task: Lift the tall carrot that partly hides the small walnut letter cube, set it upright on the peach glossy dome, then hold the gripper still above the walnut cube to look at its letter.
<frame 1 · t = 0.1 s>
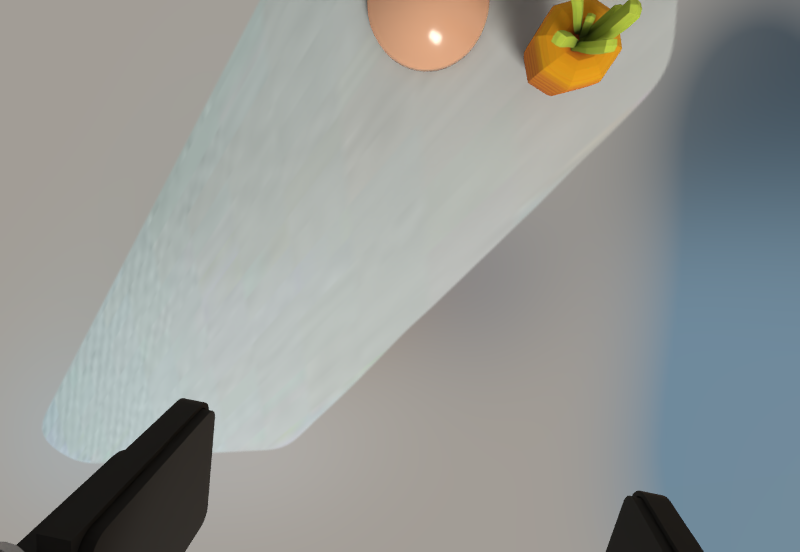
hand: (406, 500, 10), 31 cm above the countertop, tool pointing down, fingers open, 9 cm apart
peach glossy dome: (428, 8, 36), on the countertop
carrot: (539, 74, 37), on the countertop
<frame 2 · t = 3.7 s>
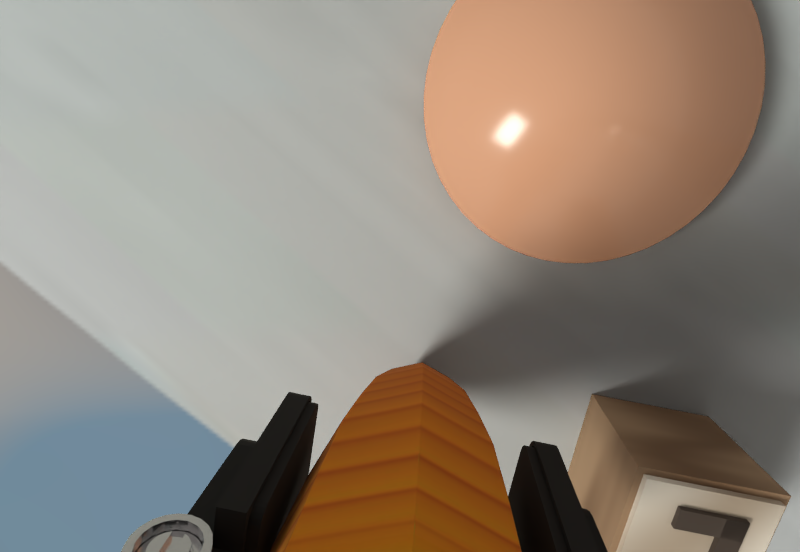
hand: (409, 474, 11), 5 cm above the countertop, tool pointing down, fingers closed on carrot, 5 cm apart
peach glossy dome: (576, 106, 14), on the countertop
carrot: (419, 371, 17), on the countertop, touching gripper
letter cube: (632, 453, 17), on the countertop
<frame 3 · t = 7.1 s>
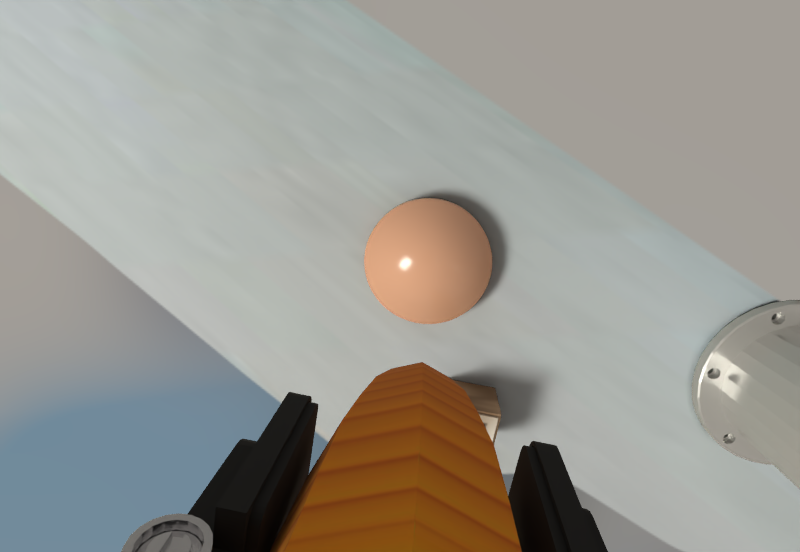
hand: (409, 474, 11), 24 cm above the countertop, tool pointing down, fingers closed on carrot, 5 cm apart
peach glossy dome: (428, 260, 34), on the countertop
carrot: (419, 371, 17), point 18 cm above the countertop, touching gripper
letter cube: (464, 405, 37), on the countertop
when the fingers open (8 cm above the countertop, at t = 10.8 s): carrot drops 1 cm, resting on peach glossy dome.
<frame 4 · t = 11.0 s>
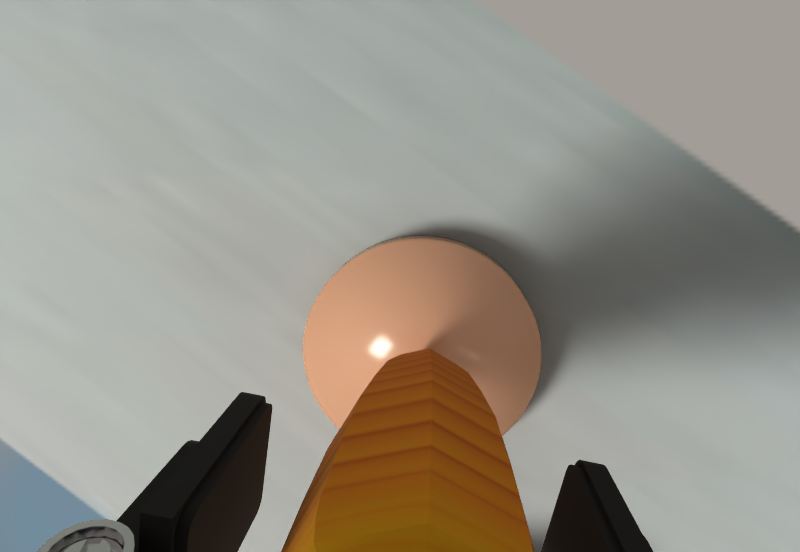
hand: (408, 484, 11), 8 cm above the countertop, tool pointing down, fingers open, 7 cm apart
peach glossy dome: (421, 346, 19), on the countertop
carrot: (425, 358, 18), point 1 cm above the countertop, touching peach glossy dome
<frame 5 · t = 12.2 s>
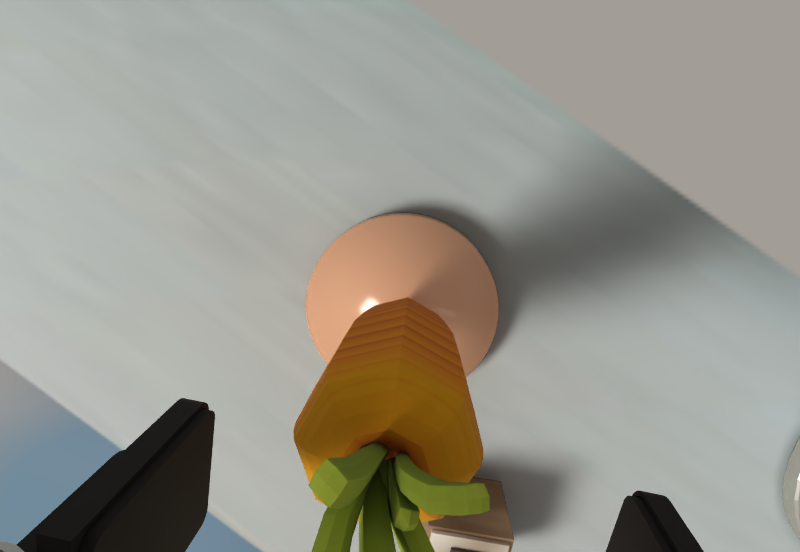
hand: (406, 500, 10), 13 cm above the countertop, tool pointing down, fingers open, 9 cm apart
peach glossy dome: (402, 304, 23), on the countertop
carrot: (405, 312, 22), point 1 cm above the countertop, touching peach glossy dome
letter cube: (457, 505, 26), on the countertop
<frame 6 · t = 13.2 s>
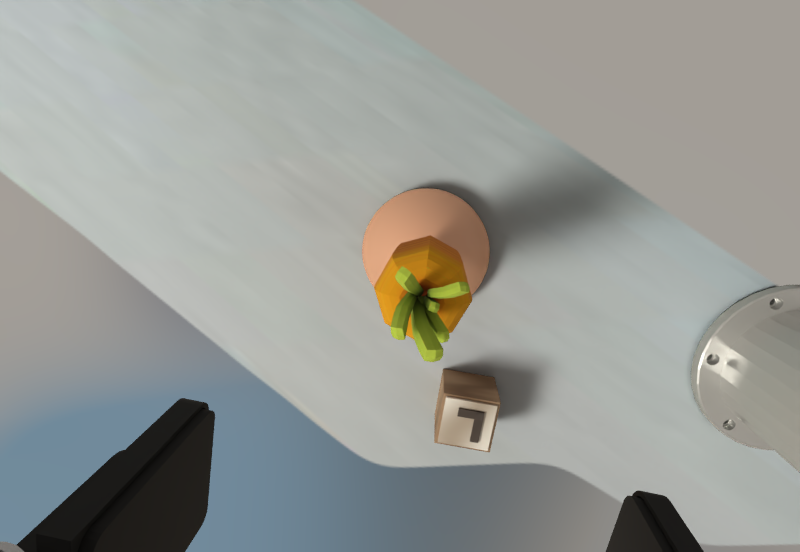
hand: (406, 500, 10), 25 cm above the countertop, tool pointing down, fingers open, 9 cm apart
peach glossy dome: (425, 250, 35), on the countertop
carrot: (428, 253, 34), point 1 cm above the countertop, touching peach glossy dome
letter cube: (464, 395, 37), on the countertop
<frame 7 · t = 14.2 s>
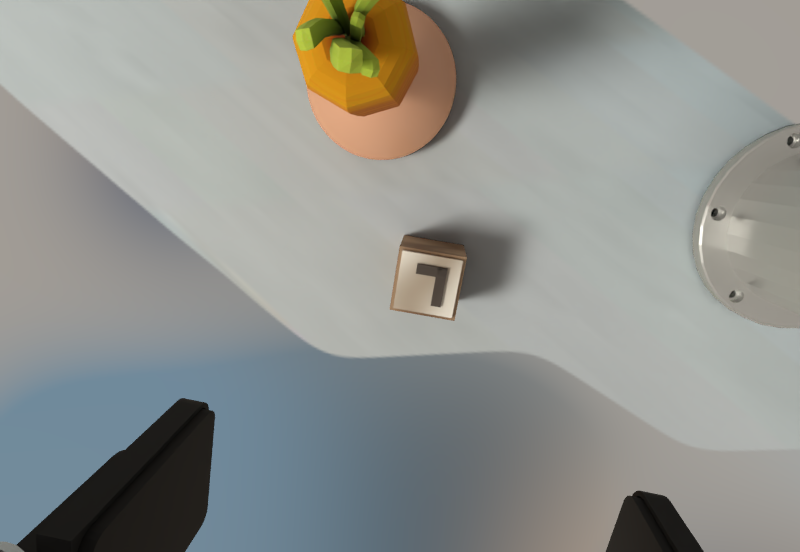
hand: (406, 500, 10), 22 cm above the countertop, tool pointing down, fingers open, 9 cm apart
peach glossy dome: (382, 85, 29), on the countertop
carrot: (384, 83, 28), point 1 cm above the countertop, touching peach glossy dome
letter cube: (428, 268, 32), on the countertop
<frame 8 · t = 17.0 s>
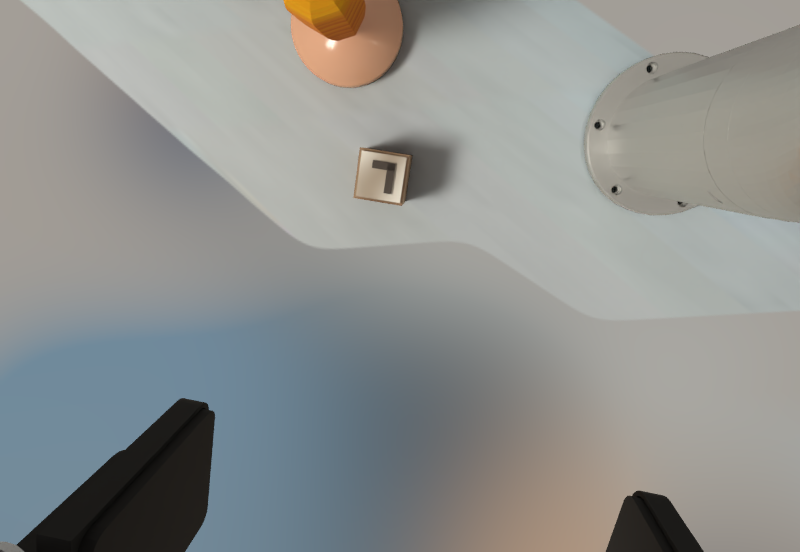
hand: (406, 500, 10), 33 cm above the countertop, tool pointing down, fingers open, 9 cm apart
peach glossy dome: (348, 29, 39), on the countertop
carrot: (348, 27, 38), point 1 cm above the countertop, touching peach glossy dome
letter cube: (386, 174, 42), on the countertop
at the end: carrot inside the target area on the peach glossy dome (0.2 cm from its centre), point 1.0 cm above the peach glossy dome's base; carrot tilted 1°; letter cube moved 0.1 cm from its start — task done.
